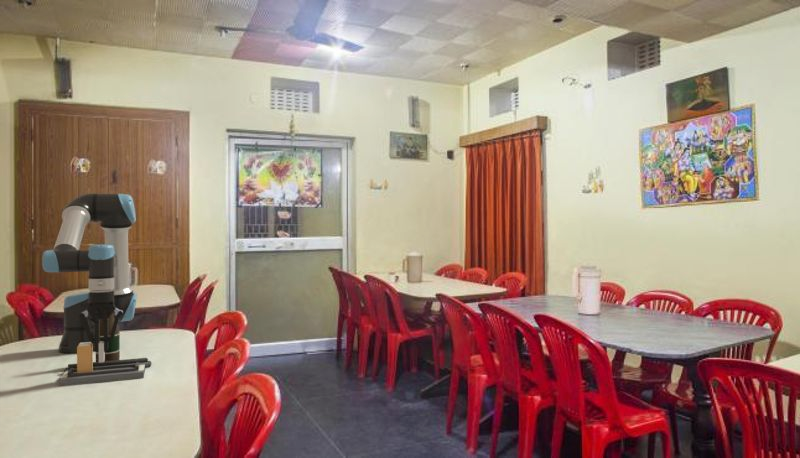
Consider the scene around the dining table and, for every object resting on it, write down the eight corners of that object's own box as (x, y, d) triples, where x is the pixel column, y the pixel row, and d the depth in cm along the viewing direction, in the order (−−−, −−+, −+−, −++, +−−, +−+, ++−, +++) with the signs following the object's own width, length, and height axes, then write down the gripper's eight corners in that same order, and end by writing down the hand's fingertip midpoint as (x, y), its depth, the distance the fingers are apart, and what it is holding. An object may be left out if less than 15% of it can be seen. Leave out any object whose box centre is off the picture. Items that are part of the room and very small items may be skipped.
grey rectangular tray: (66, 376, 183) (66, 366, 183) (145, 369, 192) (145, 359, 192) (59, 386, 172) (59, 375, 172) (143, 377, 181) (143, 367, 181)
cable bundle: (63, 375, 184) (63, 365, 184) (65, 372, 188) (65, 363, 188) (151, 367, 195) (151, 358, 195) (151, 365, 198) (151, 356, 198)
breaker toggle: (79, 371, 181) (78, 342, 181) (92, 370, 182) (92, 341, 182) (77, 374, 177) (77, 345, 177) (91, 373, 178) (91, 344, 178)
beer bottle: (109, 367, 195) (109, 300, 195) (90, 366, 197) (90, 299, 197) (124, 361, 203) (124, 297, 203) (106, 361, 204) (106, 297, 204)
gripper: (77, 293, 175) (77, 366, 175) (122, 291, 181) (122, 362, 181) (80, 290, 182) (80, 360, 182) (124, 288, 187) (124, 357, 187)
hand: (101, 361), depth 181 cm, fingers closed
